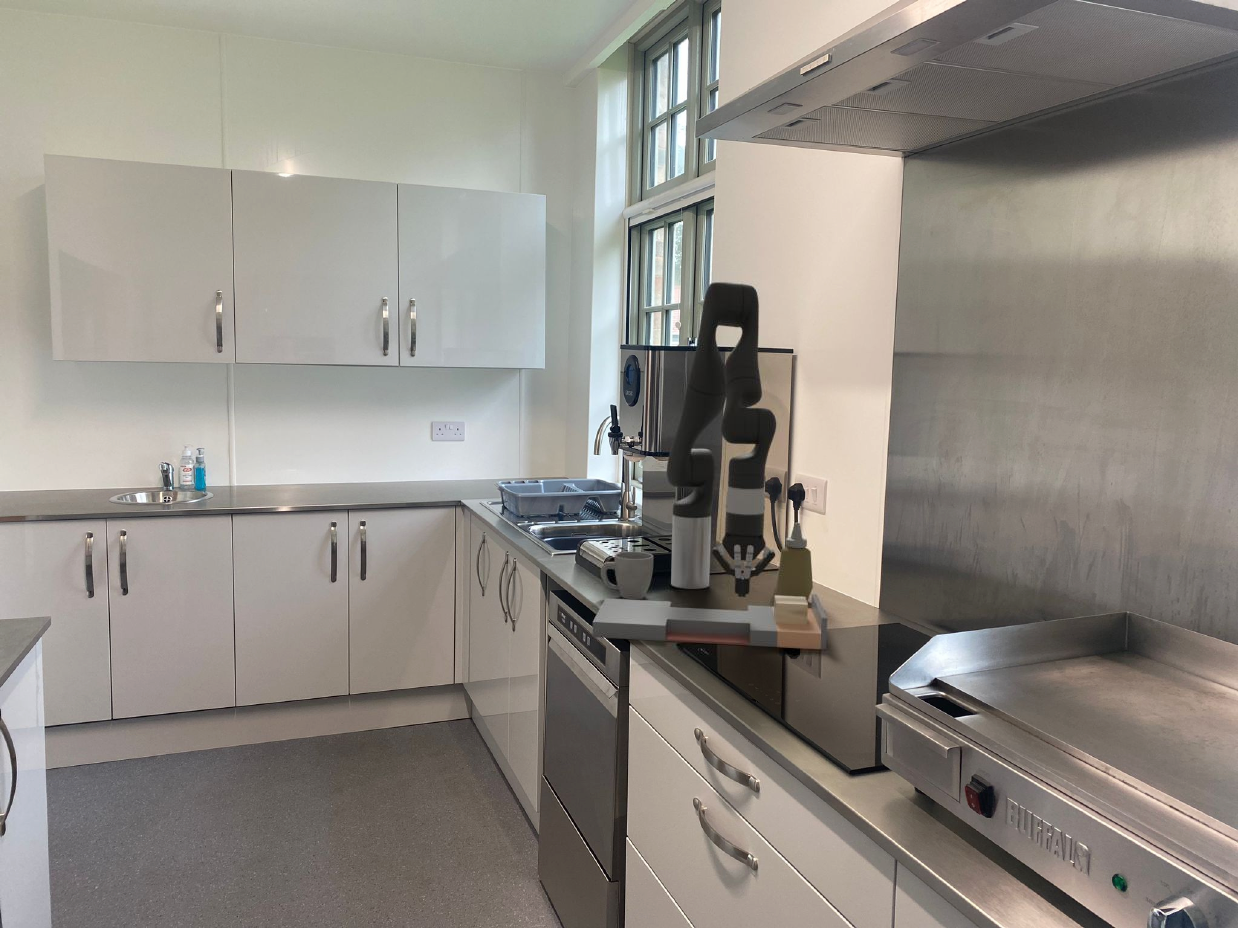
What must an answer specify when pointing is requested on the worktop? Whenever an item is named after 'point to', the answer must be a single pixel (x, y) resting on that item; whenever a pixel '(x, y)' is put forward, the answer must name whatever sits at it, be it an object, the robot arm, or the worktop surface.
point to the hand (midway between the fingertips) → (741, 595)
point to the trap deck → (708, 624)
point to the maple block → (790, 610)
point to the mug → (630, 573)
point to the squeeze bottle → (795, 567)
